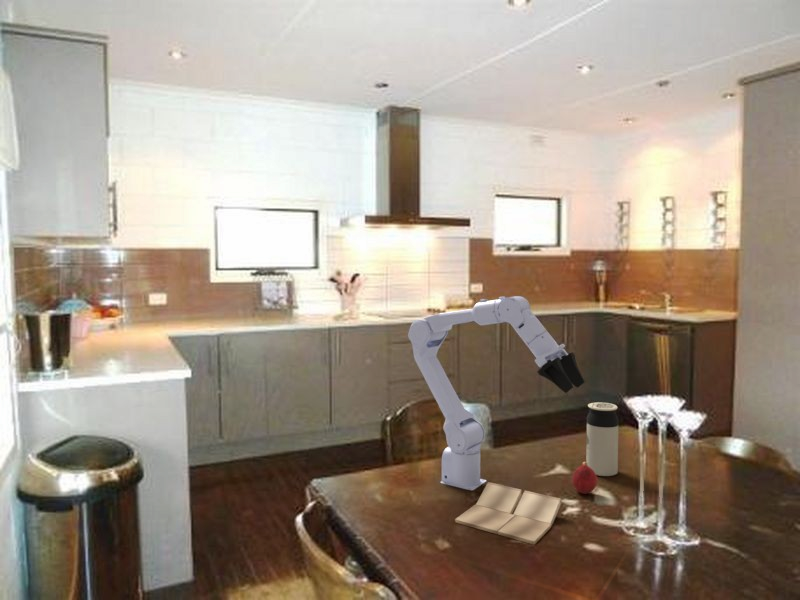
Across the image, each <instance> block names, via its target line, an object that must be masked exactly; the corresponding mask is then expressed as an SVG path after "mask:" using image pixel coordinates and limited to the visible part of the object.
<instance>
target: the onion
mask: <svg viewBox="0 0 800 600" xmlns="http://www.w3.org/2000/svg"><path fill="white" fill-rule="evenodd" d="M571 481H572V485H573V488H575V489H576V490H577V491H578V492H579V493H581V494H583V495H587V494H590V493H591V492H592V491H593V490H595V488H596V487H597V486H598V485H597V484H598V475H596V474H595V472H594V471H593V470H592V469H591V468H590V467H588V465H587V463H586V461H583V462H582V464H581V465H580V466H578V467H576V469H574V471H573V472H572V478H571Z"/></svg>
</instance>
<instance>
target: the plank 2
mask: <svg viewBox="0 0 800 600" xmlns="http://www.w3.org/2000/svg"><path fill="white" fill-rule="evenodd" d="M561 505H562V499H561V498H559V497H555V496H550V495H546V494H542V493H538V492H533V491H529V490H524V491H523V492H522V495H521V497H520V499H519V501H518V503H517V506H516V508H515V510H514V512H513V515H517V516H521V517H525V518H529V519H533V520H537V521H541V522H545V523H548V524H551V526H553V524H554V521H555V520H556V517H557V514H558V512H559V509H560V508H561Z"/></svg>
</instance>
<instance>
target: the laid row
mask: <svg viewBox="0 0 800 600" xmlns="http://www.w3.org/2000/svg"><path fill="white" fill-rule="evenodd" d="M513 514H514V513H513ZM513 514H510V513H506V512H502V511H498V510H494V509H490V508H486V507H482V506H479V505H476V504H474V505H472V506H471V507H470V508H468V509H467V510H465V511H464V512H463V513H461V514H460V515H458V517H456V518H455V519H454V523H457V524H460V525H463V526H467V527H470V528H475V529H476V530H477V529H478V530H481V531H485V532H489V533H492V534H495V535H499V536H502V537H505V538H510V539H512V540H513V539H514V540H516V541H521V542H524V543H527V544H530V545H534V546H535V545H536V544H537V542H538V541H540V539H542V537H544V535H545V534H546V533H547V532H548V531H549V530H550V529H551V528H552V525H551V524H548V523H545V522H541V521H537V520H533V519H529V518H525V517H521V516H517V515H513Z"/></svg>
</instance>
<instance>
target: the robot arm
mask: <svg viewBox="0 0 800 600" xmlns="http://www.w3.org/2000/svg"><path fill="white" fill-rule="evenodd" d="M479 300H480V301H478V302H477V303H475V305H473V307H472V308H470V309H463V310H455V311H447V312H446V311H445V312H440V313H436V314H432V315H428V316H426V317H423V319H420V318H419V319H416V320H414V321H413V322H412V323H411V325H410V326H409V330H408V333H407V337H408V339H409V341H410V343H411V346H412V353H413V358H414V361H415V362H416V365H417V367H418V369H419V371H420V372H421V374H422V376H423V378H424V380H425V382H426V385H428V388H429V390H430V392H431V394H432V396H433V398H434V400H435V401H436V403H437V405H438V407H439V409H440V411H441V413H442V414H443V417H444V419H445V421H444V423H443V428H442V429H443V431H444V435H445V439H446V443H447V447H445V449H444V450H443V451H442V456H441V481H440V483H441V484H444V485H448V486H452V487H456V488H460V489H463V490H468V491H469V490H470V491H474V490H476V489H477V488H479V487H481V485H483V484H485V483H487V479H483V478H481V448H482V447H481V446H482V443H483V442H484V440H485V438H486V429H485V427H484V426H483V424H482V423H481V422H480V421H478V419H477V418H476V417H475V414H474V413H472V412H471V411H469V410H468V409H465V407H464V406H463V403H462V402H461V399H460V398H459V396H458V394H457V393H456V389H454V387H453V385H452V383H451V381H450V380H449V377H448V376H447V374H446V371H445V370H444V368H443V366H442V364H441V362H440V360H439V359H438V357H437V355H438V351H439V349H440V347H441V345H443V342H444V341H445V339H446V337H447V336H448V334H449V331H451V330H452V328H453V326H454V325H458V324H465V323H471V322H475V323H476V324H478V325H479V326H488V325H494V324H502V323H508V324H510V325H511V327H512V328H513V329H514V331H515V333H516V334H517V335H518V336H519V338H520V339H521V340H522V341H523V343H524V344H525V345H526V347H527V348H528V349H529V350H530V352H531V354H533V355H534V357H535V359H534V360H533V361H534V362H535V364H536V365H537V366H538V367H539V368H540V369H538V370H537V374H538V375H540V376H541V377H543V378H545V379H547V380H549V381H550V382H552V383H553V384H554V385H555V386H557V387H558V388H559V389H560V390H561V391H562V392H564V393H565V394H567V393H569V391H570V390H572V389H574V387H575V388H579V387H581V386H582V385H583V384H585V383H586V382H585V378H584V377H583V375H582V374H581V372H580V369H579V367H578V363H577V360H576V356H575V355H576V354H575V353H574V352H569V353H568V352H567V351H566V350H565V349H564V348H565V347H566V344H565V343H561V344H560V345H559V344H558V342H557V341H555V339H554V338H553V336H552V335H551V334H550V332H548V330H547V328H546V327H545V326H544V325H543V324H542V322H541V321H540V320H539V319H538V318H537V316H536V315H535V314H534V313H533V312H532V310H531V305H530V302H529V301H528V299H527V298H526V297H525V296H519V295H518V296H516V295H514V296H509V297H506V296H499V297H498V299H492V300H491V299H490V300H488V298H481V299H479Z"/></svg>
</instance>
